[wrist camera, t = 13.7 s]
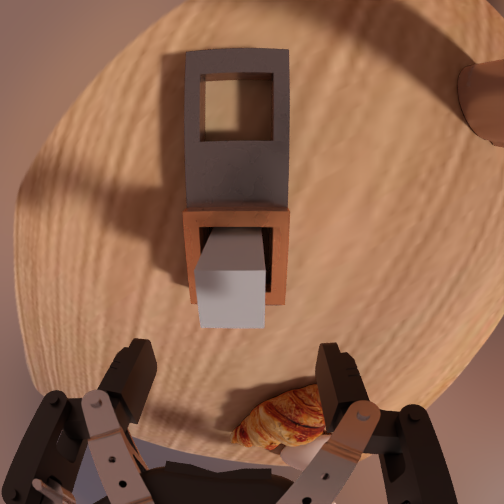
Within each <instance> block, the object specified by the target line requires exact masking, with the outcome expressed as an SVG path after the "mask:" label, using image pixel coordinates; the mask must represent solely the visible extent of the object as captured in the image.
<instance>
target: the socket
mask: <svg viewBox="0 0 504 504" xmlns="http://www.w3.org/2000/svg"><path fill="white" fill-rule="evenodd" d="M219 80H271V81H272V107H271V141H208V142H205V81H219ZM289 119H290V89H289V49H269V48H232V49H213V50H200V51H190V52H186V65H185V104H184V136H185V177H186V199H187V208H186V209H185V210H184V211H183V227H184V240H185V252H186V262H187V272H188V282H189V291H190V299H191V304H198V302H197V294H196V285H195V275H194V269H195V267H196V265H197V263H198V260H199V258H200V256H201V254H202V251H203V249H204V247H205V245H206V243H207V241H208V227H270V241H269V272H266V275H265V305H285V294H286V279H287V263H288V245H289V224H290V211H289V209H288V179H289Z"/></svg>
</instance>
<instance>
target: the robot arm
mask: <svg viewBox="0 0 504 504" xmlns="http://www.w3.org/2000/svg"><path fill="white" fill-rule="evenodd" d="M458 96H459V101H460V105H461V108H462V111H463V114H464V116H465V118H466V120H467V122H468V124H469V125H470V127H471V128H472V129H473V131H474V132H475V133H476V134H477V135H478V136H479V137H481V138H483V139H484V140H489V141H491V142H492V143H493V145H494V146H498V147H504V59H502V60H496V61H490V62H485V63H480V64H475V65H471V66H467V67H465V68H464V69H463V70H462V71H461V73H460V75H459V79H458ZM156 372H157V362H156V359H155V355H154V352H153V349H152V345H151V342H150V340H147V339H137V338H134V339H133V340H132V342H131V344H130V346H129V348H127V347H124V348H123V349H122V350H121V351H119V352H118V353H117V355H116V356H115V358H114V360H113V362H112V364H111V365H110V368H109V369H108V371H107V373H106V374H105V376H104V378H103V380H102V382H101V384H100V385H99V387H98V389H97V390H92V391H90V392H88V393H86V394H85V395H84V397H83V398H67V397H66V395H65V394H64V393H63V392H62V391H59V390H55V391H51V392H49V393H48V394H46V395H45V397H44V398H43V400H42V402H41V404H40V406H39V408H38V409H37V411H36V413H35V415H34V417H33V419H32V421H31V423H30V425H29V427H28V429H27V431H26V433H25V435H24V437H23V439H22V441H21V443H20V445H19V448H18V450H17V452H16V454H15V457H14V459H13V461H12V464H11V466H10V468H9V471H8V474H7V476H6V479H5V481H4V484H3V487H2V497H3V500H4V501H5V503H6V504H76V500H75V498H74V496H73V494H72V491H73V488H74V484H75V481H76V478H77V474H78V471H79V468H80V465H81V462H82V459H83V456H84V453H85V450H86V447H87V444H88V445H89V448H90V451H91V454H92V457H93V460H94V463H95V466H96V469H97V471H98V474H99V476H100V479H101V481H102V484H103V486H104V489H105V491H106V493H107V496H106V497H104V498H102V499H100V500H99V501H97V502H95V503H94V504H332V502H333V501H334V500H335V498H336V497H337V495H338V494H339V492H340V491H341V489H342V488H343V486H344V485H345V483H346V481H347V480H348V478H349V477H350V475H351V473H352V472H353V470H354V468H355V467H356V465H357V463H358V461H359V460H360V458H361V454H362V453H370V454H379V459H380V463H381V468H382V473H383V478H384V483H385V489H386V495H387V501H388V504H458V503H457V498H456V495H455V491H454V487H453V484H452V481H451V477H450V474H449V471H448V468H447V465H446V461H445V458H444V456H443V453H442V450H441V447H440V444H439V441H438V439H437V436H436V433H435V431H434V428H433V425H432V423H431V421H430V418H429V416H428V413H427V411H426V410H425V409H424V408H423V407H421V406H419V405H415V404H411V405H407V406H405V407H403V408H402V409H401V411H400V412H396V411H385V410H381V409H379V408H378V406H377V405H376V404H374V403H373V402H370V400H369V398H368V395H367V392H366V389H365V387H364V384H363V381H362V379H361V376H360V373H359V371H358V369H357V365H356V363H355V360H354V359H353V358H352V357H351V356H350V355H349V354H348V353H347V352H344V353H340V350H339V348H338V345H337V343H336V342H335V343H321V344H320V346H319V351H318V356H317V362H316V368H315V376H316V382H317V386H318V391H319V396H320V401H321V406H322V411H323V416H324V421H325V426H326V431H327V433H330V432H333V434H332V435H331V437H330V438H329V440H328V441H327V442H325V443H324V444H323V446H322V447H321V448H320V450H319V451H318V453H317V454H316V455H315V457H314V458H313V459H312V461H311V462H310V463H309V465H308V466H307V467H306V469H305V470H304V471H303V472H302V474H301V475H300V476H299V478H298V479H297V480H296V481H295V482H293V481H291V480H289V479H287V478H284V477H282V476H278V475H273V474H271V469H239V470H234V471H227V472H220V473H216V472H212V471H209V470H206V469H203V468H200V467H197V466H194V465H191V464H183V463H177V462H170V461H166V466H165V467H157V468H153V469H150V470H149V468H148V467H147V465H146V464H145V462H144V461H143V459H142V457H141V455H140V453H139V451H138V449H137V447H136V445H135V443H134V441H133V438H132V436H131V434H130V432H129V430H128V425H129V423H134V424H138V422H139V419H140V416H141V413H142V411H143V408H144V405H145V402H146V400H147V397H148V394H149V391H150V389H151V386H152V383H153V381H154V378H155V376H156ZM61 431H62V433H61ZM60 434H61V435H60ZM59 436H60V437H59ZM58 438H59V440H58ZM57 441H58V442H57ZM56 444H57V445H56Z"/></svg>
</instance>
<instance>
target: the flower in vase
mask: <svg viewBox="0 0 504 504" xmlns="http://www.w3.org/2000/svg"><path fill="white" fill-rule="evenodd" d="M330 437H331V435H320V436H319V437H317V438H316V439H315V440H314V441H312V442H310V443H307V444H305V445H300V446H295V447H290V446H285V447H284V448H283V450H282V451H281V454H280V456H281V458H282V460H283V461H284V462H285V463H287V464H288V465H290V466H292V467H294V468H296V469H299V470H301V471H304V470H305V469H306V467H307V466H308V465H309V463H310V462H311V461H312V459H313V458H314V457H315V455H316V454H317V453H318V451H319V450H320V448H321V447H322V446H323V444H324V443H325V442H327V441H328V440H329V438H330ZM332 504H336V503H335V502H334V501H333V502H332Z"/></svg>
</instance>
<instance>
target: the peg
mask: <svg viewBox="0 0 504 504" xmlns="http://www.w3.org/2000/svg"><path fill="white" fill-rule="evenodd" d="M194 275H195V285H196V294H197V302H198V310H199V318H200V326H201V328H264V325H265V275H266V270H265V260H264V250H263V240H262V230H261V227H214V228H213V230H212V232H211V234H210V236H209V238H208V241H207V243H206V245H205V247H204V249H203V251H202V254H201V256H200V258H199V260H198V263H197V265H196V267H195V269H194Z"/></svg>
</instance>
